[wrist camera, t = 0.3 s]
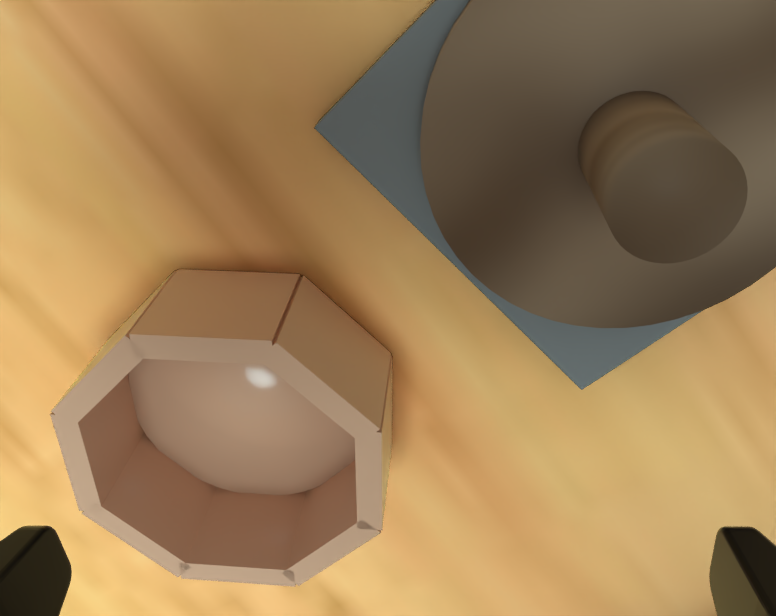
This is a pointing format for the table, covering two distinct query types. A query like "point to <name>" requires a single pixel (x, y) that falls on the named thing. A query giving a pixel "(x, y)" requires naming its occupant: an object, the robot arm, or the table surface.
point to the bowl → (233, 429)
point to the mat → (407, 191)
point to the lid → (606, 153)
